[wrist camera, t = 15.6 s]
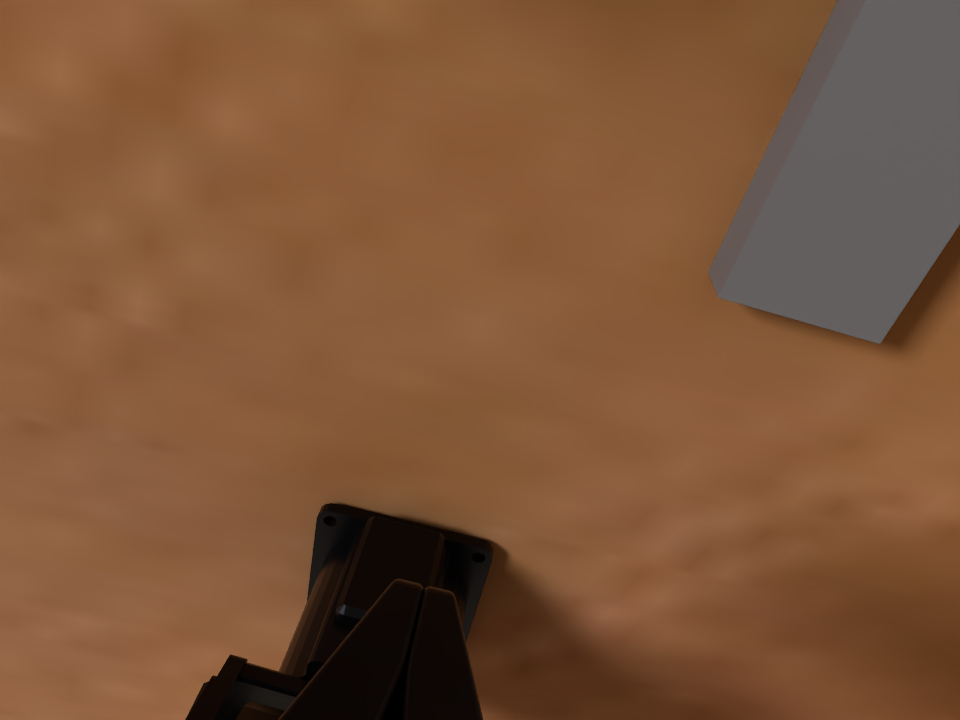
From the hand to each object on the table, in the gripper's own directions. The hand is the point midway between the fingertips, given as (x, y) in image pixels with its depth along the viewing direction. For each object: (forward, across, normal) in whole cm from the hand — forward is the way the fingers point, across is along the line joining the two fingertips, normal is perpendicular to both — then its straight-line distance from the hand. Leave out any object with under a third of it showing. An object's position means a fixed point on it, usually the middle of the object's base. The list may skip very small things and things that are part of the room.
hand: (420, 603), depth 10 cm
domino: (+12, -8, -1) cm, 14 cm away
